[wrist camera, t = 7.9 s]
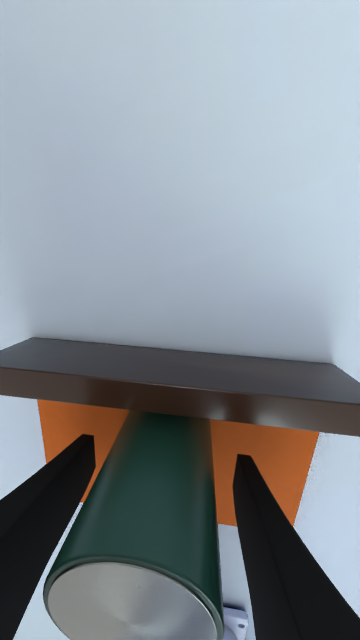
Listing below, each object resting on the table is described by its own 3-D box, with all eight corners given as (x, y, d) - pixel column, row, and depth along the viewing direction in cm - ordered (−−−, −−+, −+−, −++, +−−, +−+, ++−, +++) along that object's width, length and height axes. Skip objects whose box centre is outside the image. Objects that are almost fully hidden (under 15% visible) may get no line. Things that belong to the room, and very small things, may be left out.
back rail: (327, 387, 11) (385, 440, 8) (35, 358, 12) (-28, 392, 9) (334, 363, 11) (397, 408, 7) (32, 336, 12) (-35, 363, 9)
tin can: (206, 462, 13) (214, 691, 6) (129, 451, 13) (50, 654, 6) (214, 392, 11) (236, 578, 4) (128, 383, 12) (28, 542, 5)
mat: (289, 529, 14) (291, 535, 13) (54, 493, 15) (51, 497, 15) (326, 390, 11) (330, 393, 11) (35, 361, 12) (31, 363, 12)
